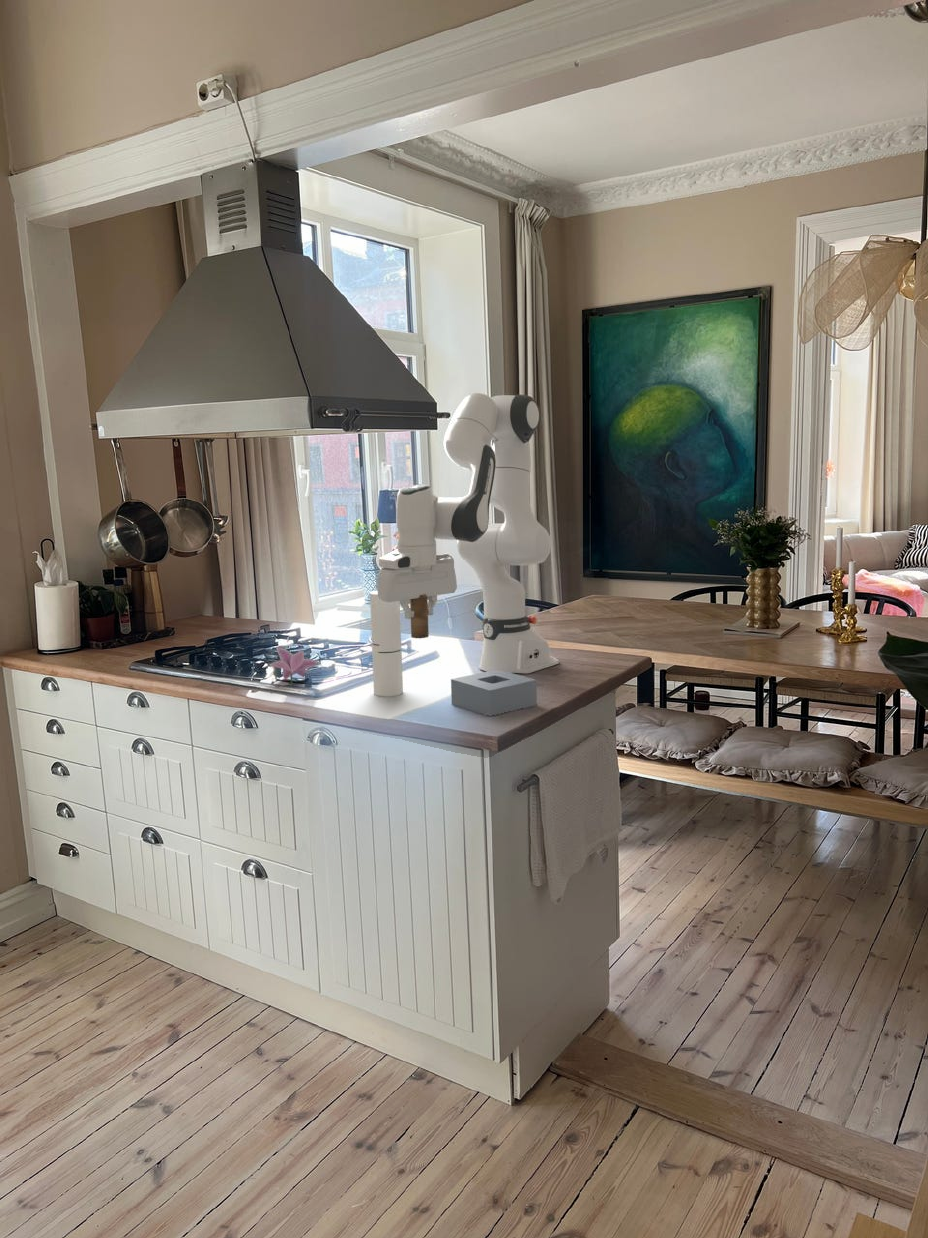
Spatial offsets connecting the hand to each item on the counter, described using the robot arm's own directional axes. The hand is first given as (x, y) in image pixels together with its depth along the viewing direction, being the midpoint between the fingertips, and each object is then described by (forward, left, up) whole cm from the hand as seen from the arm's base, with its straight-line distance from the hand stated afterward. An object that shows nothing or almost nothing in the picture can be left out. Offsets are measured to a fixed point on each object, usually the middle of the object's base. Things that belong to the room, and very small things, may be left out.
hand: (419, 616), depth 213 cm
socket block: (-12, +12, -21) cm, 27 cm away
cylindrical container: (0, -14, -21) cm, 25 cm away
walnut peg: (0, 0, -5) cm, 5 cm away
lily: (+12, -40, -21) cm, 47 cm away
